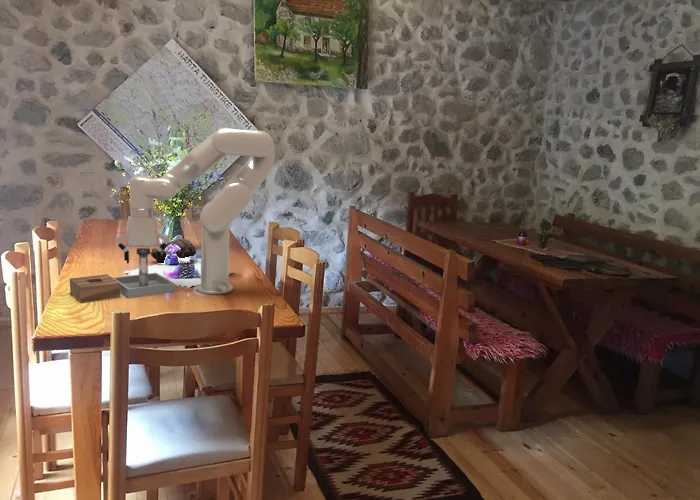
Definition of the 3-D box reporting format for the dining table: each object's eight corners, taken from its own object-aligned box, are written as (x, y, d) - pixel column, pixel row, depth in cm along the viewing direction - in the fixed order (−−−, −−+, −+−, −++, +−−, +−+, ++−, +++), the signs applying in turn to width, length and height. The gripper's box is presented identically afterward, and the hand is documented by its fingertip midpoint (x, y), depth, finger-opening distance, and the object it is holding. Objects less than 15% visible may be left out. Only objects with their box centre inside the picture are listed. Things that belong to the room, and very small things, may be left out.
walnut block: (120, 297, 192) (119, 282, 191) (81, 302, 184) (80, 287, 183) (107, 288, 200) (107, 274, 199) (70, 293, 193) (69, 278, 192)
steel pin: (152, 287, 202) (152, 249, 199) (139, 289, 199) (139, 250, 197) (147, 284, 205) (147, 247, 203) (134, 286, 203) (134, 248, 200)
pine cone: (148, 261, 241) (148, 237, 238) (191, 258, 250) (191, 235, 248) (154, 267, 232) (154, 242, 230) (198, 264, 241) (198, 240, 239)
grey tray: (174, 291, 202) (174, 283, 201) (128, 298, 191) (128, 289, 191) (156, 280, 214) (156, 272, 213) (111, 286, 203) (111, 277, 203)
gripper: (168, 211, 203) (168, 259, 207) (114, 211, 197) (115, 260, 201) (169, 215, 197) (169, 264, 200) (114, 214, 190) (115, 265, 194)
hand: (142, 262), depth 200 cm, fingers open, 9 cm apart
